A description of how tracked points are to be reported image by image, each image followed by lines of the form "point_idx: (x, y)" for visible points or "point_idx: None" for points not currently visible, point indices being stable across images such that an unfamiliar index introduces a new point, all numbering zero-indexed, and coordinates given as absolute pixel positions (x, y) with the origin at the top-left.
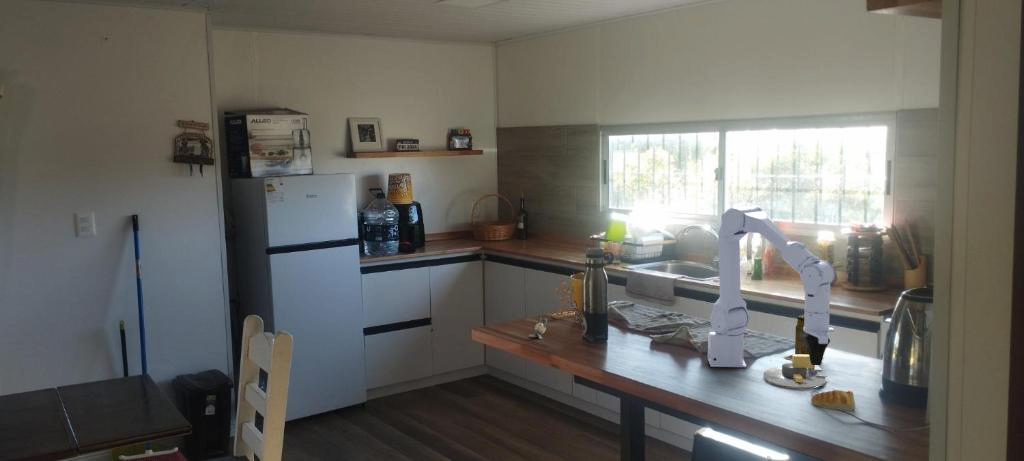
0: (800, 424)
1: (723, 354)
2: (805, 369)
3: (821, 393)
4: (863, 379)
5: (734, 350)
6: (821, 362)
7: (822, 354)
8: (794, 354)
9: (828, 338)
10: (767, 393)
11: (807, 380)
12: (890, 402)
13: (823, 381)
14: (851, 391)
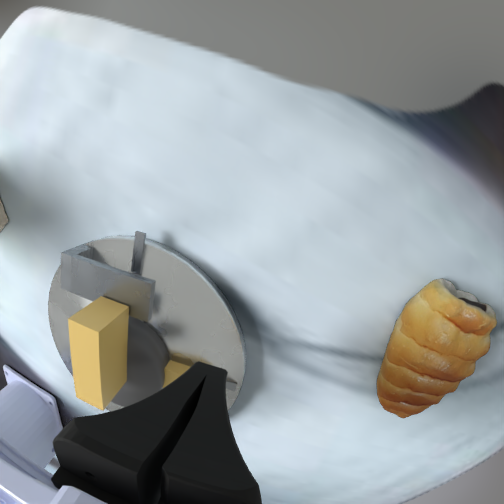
0: (473, 448)
1: (43, 446)
2: (143, 349)
3: (403, 395)
4: (163, 73)
5: (33, 440)
6: (224, 376)
7: (226, 416)
8: (78, 392)
9: (183, 485)
10: (265, 461)
11: (188, 339)
12: (453, 124)
13: (204, 283)
14: (480, 318)
